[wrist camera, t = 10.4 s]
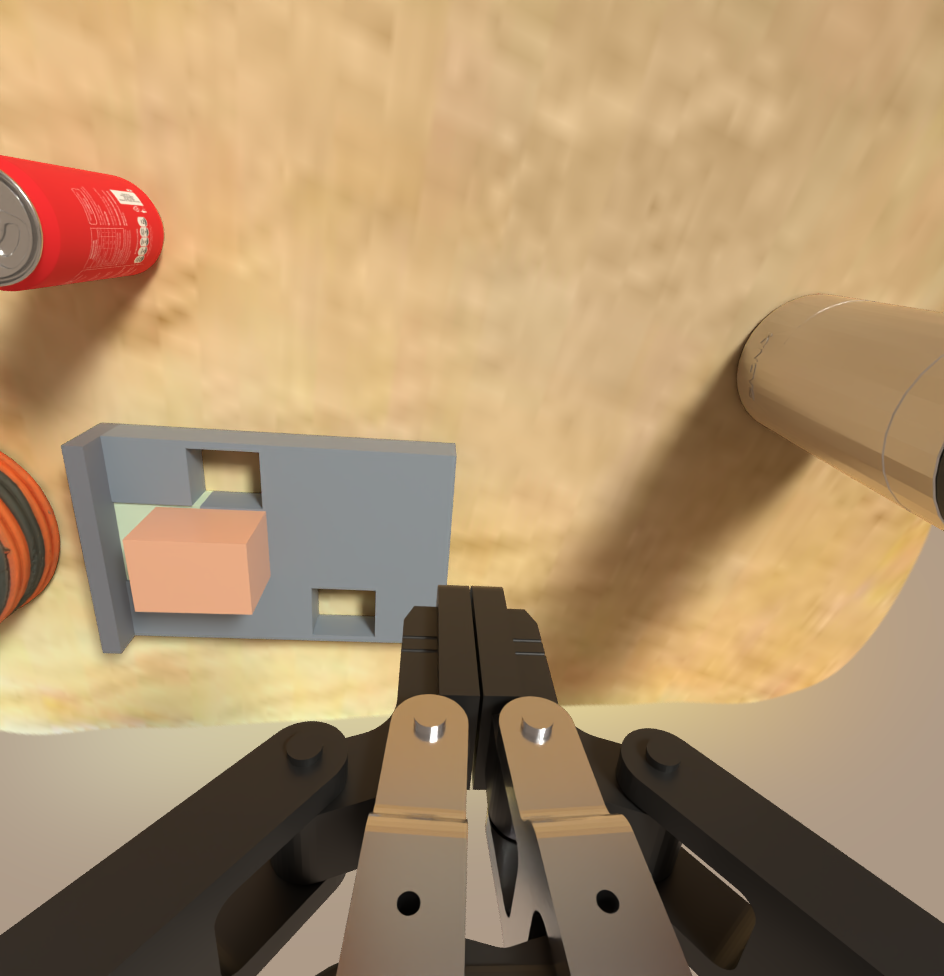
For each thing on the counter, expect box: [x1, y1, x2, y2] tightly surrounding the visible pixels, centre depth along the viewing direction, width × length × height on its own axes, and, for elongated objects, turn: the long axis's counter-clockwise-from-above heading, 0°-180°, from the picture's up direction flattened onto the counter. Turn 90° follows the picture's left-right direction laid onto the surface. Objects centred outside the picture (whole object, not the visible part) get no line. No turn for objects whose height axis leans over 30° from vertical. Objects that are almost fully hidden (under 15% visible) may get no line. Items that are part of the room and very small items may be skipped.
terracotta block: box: [122, 507, 271, 615], centre depth 38 cm, size 7×5×4 cm
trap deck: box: [61, 423, 456, 653], centre depth 40 cm, size 23×15×4 cm, turn 85°
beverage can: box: [0, 155, 164, 291], centre depth 29 cm, size 5×5×12 cm
